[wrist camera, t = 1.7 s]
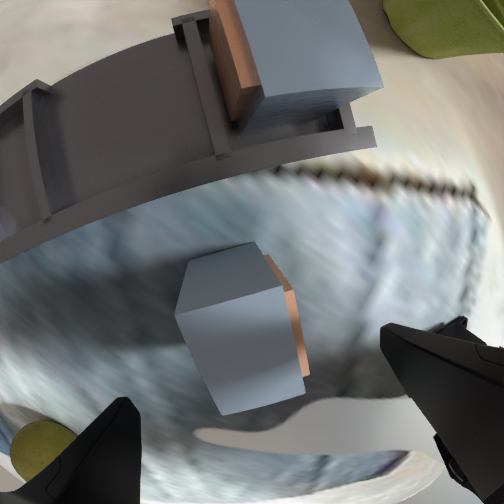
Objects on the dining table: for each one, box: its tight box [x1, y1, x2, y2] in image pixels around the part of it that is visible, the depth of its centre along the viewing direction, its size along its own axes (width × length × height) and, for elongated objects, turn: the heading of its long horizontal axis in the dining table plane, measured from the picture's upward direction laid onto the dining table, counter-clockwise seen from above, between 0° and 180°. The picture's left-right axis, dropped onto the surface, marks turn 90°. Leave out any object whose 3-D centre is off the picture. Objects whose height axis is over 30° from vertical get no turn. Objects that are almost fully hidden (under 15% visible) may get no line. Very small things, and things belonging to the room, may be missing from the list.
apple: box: [10, 421, 78, 482], centre depth 13 cm, size 8×8×7 cm
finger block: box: [174, 242, 310, 416], centre depth 12 cm, size 5×4×6 cm
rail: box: [0, 0, 384, 263], centre depth 8 cm, size 8×22×7 cm, turn 104°
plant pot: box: [383, 0, 504, 59], centre depth 7 cm, size 9×9×9 cm
